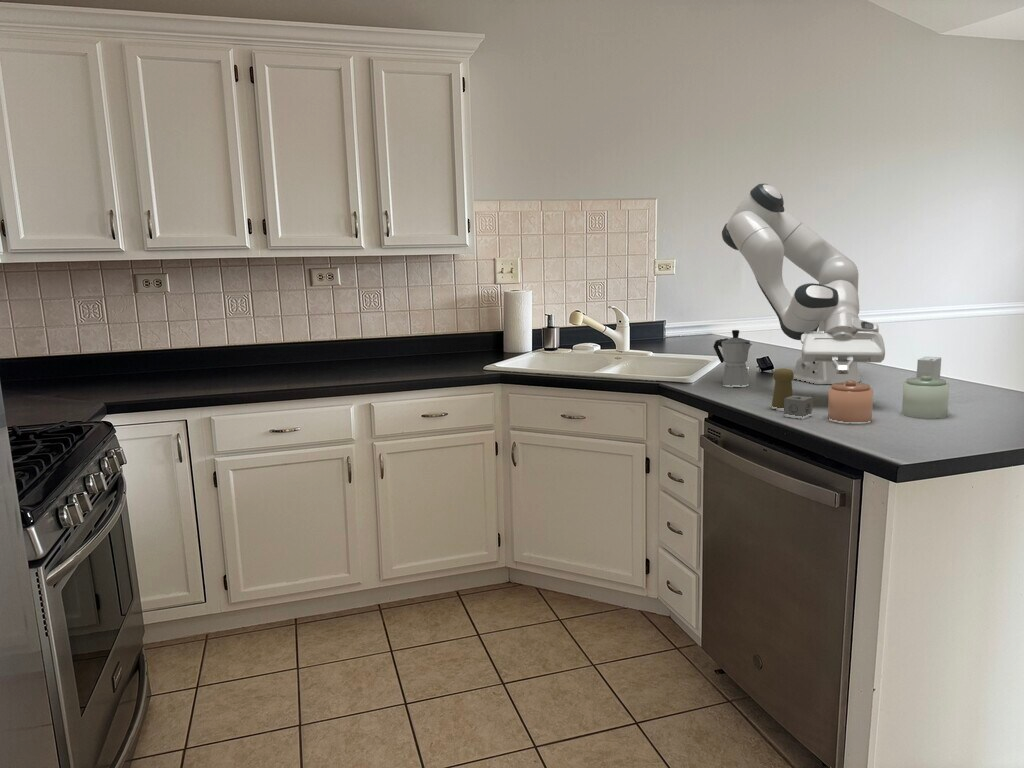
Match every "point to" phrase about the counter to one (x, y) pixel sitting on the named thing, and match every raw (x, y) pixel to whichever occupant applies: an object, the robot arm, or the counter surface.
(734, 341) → the coffee maker
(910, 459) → the counter surface
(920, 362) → the skincare box
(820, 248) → the robot arm
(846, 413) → the terracotta canister
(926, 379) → the sage canister
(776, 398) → the cork
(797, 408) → the dice cube
